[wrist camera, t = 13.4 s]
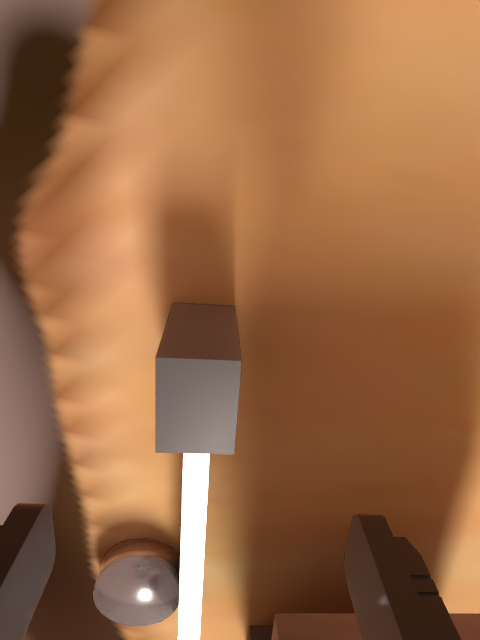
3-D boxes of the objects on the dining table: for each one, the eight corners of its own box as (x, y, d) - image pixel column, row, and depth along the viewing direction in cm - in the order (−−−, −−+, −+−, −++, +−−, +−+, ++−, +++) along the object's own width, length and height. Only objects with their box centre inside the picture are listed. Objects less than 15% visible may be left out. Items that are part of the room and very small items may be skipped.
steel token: (114, 527, 25) (106, 556, 23) (193, 547, 26) (191, 577, 24) (92, 584, 27) (83, 615, 25) (168, 601, 28) (164, 633, 26)
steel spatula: (172, 302, 20) (155, 357, 15) (235, 305, 20) (241, 360, 15) (168, 602, 27) (155, 716, 22) (214, 602, 28) (213, 715, 22)
